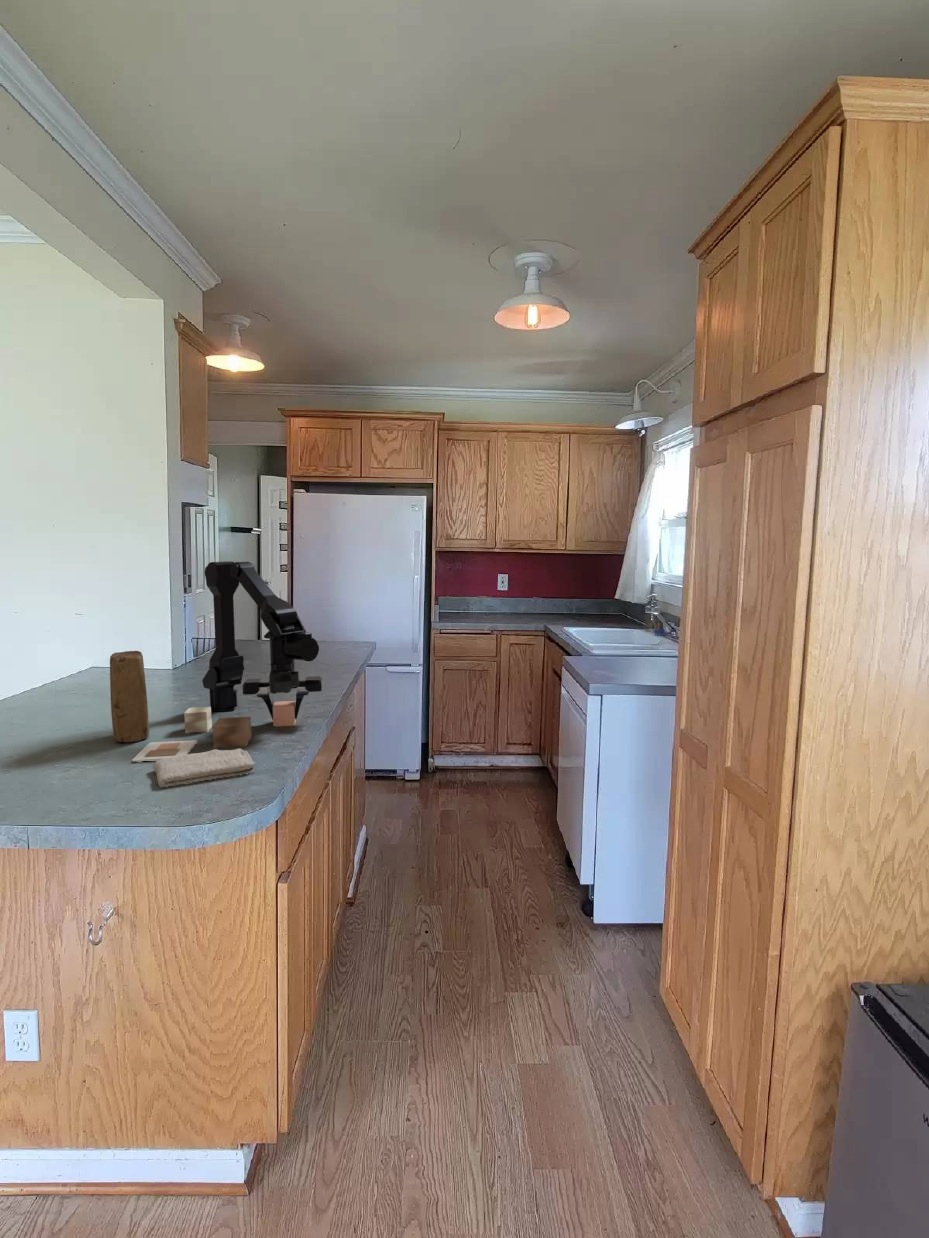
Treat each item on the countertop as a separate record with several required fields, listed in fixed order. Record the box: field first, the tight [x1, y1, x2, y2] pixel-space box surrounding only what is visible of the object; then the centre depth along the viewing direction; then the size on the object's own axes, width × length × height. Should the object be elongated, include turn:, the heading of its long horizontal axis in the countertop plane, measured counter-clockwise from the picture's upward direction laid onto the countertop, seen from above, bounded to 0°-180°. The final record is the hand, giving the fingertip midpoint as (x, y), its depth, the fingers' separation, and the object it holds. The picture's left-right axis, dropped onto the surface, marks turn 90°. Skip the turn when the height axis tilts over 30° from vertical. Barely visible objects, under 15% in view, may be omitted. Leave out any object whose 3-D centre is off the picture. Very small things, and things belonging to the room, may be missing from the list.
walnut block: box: [211, 716, 253, 749], centre depth 150 cm, size 7×7×5 cm
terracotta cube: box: [272, 700, 297, 727], centre depth 166 cm, size 5×5×5 cm
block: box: [109, 650, 150, 743], centre depth 154 cm, size 11×8×20 cm
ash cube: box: [183, 706, 213, 734], centre depth 161 cm, size 5×5×5 cm
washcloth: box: [152, 747, 257, 788], centre depth 132 cm, size 12×18×3 cm, turn 119°
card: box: [131, 739, 198, 762], centre depth 144 cm, size 10×12×1 cm
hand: (284, 719), depth 166 cm, fingers closed on terracotta cube, 5 cm apart
